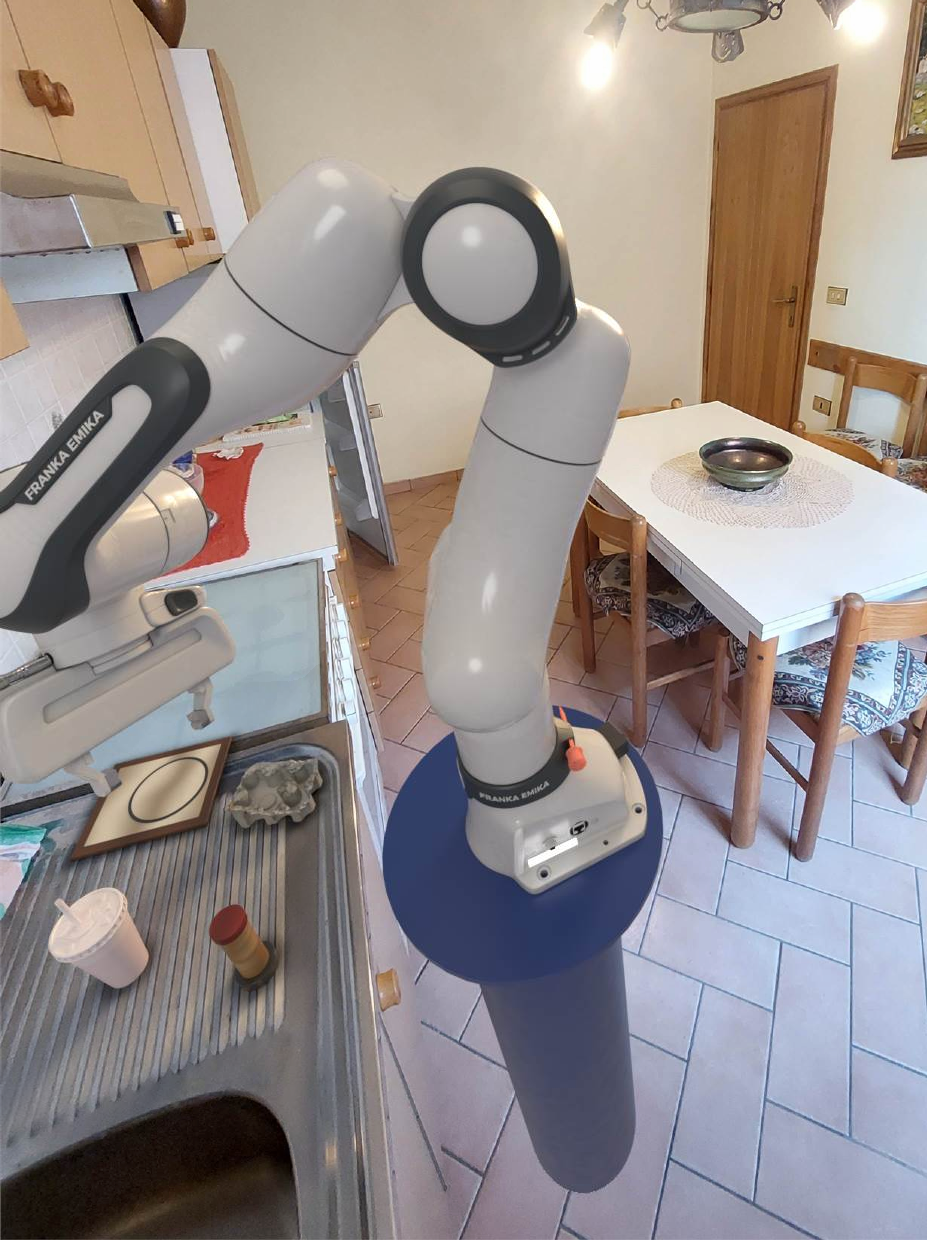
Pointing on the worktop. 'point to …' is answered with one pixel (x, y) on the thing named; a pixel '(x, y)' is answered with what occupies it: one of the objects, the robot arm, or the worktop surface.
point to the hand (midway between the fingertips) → (160, 756)
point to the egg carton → (276, 791)
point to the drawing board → (156, 798)
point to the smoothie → (99, 938)
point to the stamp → (244, 947)
